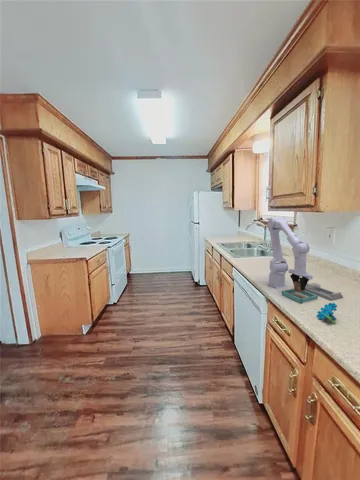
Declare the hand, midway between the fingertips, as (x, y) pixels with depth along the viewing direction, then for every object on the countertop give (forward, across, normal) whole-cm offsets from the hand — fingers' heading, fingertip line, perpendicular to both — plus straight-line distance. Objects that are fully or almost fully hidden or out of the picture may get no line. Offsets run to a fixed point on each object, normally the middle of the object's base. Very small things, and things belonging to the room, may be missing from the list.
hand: (299, 288), depth 131 cm
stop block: (+1, 0, 0) cm, 1 cm away
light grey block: (+5, +3, -14) cm, 16 cm away
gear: (+6, -24, +9) cm, 26 cm away
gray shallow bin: (+5, 0, -14) cm, 15 cm away
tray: (+5, 0, 0) cm, 5 cm away
